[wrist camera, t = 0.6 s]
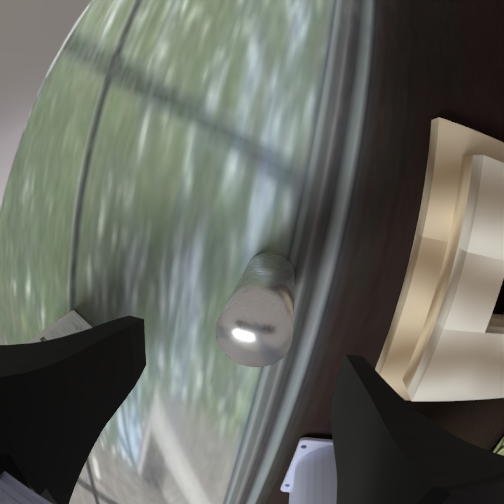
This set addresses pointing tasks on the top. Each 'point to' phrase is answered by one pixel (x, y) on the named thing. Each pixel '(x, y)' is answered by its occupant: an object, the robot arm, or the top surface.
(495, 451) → the washcloth
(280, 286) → the tube
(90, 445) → the robot arm
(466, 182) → the collar stand
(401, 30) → the top surface
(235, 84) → the top surface
